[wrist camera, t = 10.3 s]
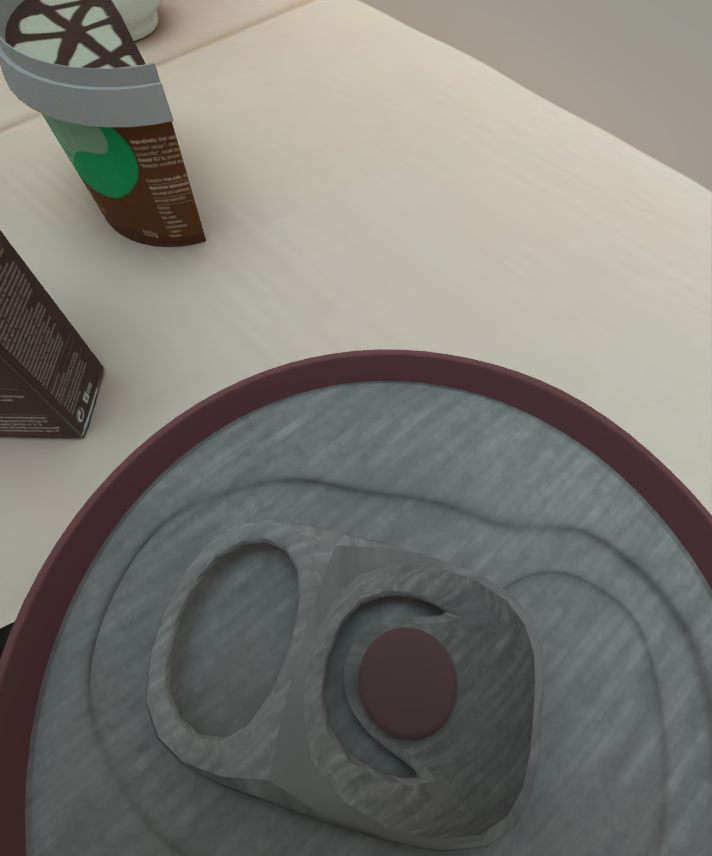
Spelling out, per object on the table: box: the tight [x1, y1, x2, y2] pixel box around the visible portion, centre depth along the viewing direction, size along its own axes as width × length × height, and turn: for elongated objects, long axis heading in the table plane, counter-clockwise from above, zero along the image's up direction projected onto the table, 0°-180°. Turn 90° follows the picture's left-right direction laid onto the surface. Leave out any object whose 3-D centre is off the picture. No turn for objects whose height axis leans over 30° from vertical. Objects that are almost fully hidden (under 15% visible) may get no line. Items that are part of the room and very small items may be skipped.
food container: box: [0, 0, 206, 246], centre depth 26 cm, size 12×6×10 cm, turn 26°
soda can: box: [0, 350, 712, 856], centre depth 9 cm, size 7×7×12 cm
